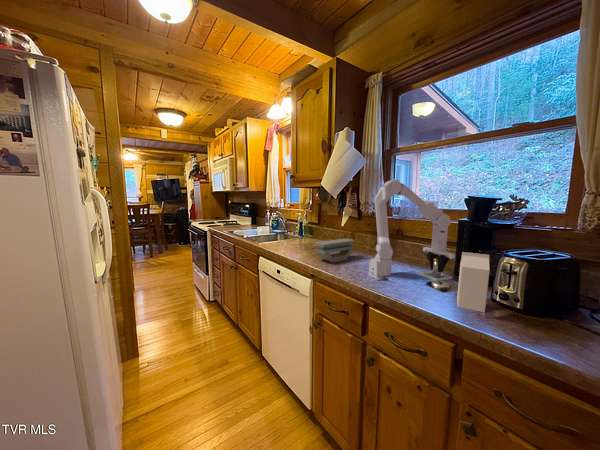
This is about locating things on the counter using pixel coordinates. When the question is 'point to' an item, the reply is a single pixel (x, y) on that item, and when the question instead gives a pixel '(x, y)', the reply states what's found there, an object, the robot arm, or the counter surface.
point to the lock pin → (435, 267)
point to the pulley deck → (453, 288)
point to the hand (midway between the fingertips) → (436, 270)
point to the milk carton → (473, 281)
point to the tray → (446, 277)
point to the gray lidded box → (335, 249)
